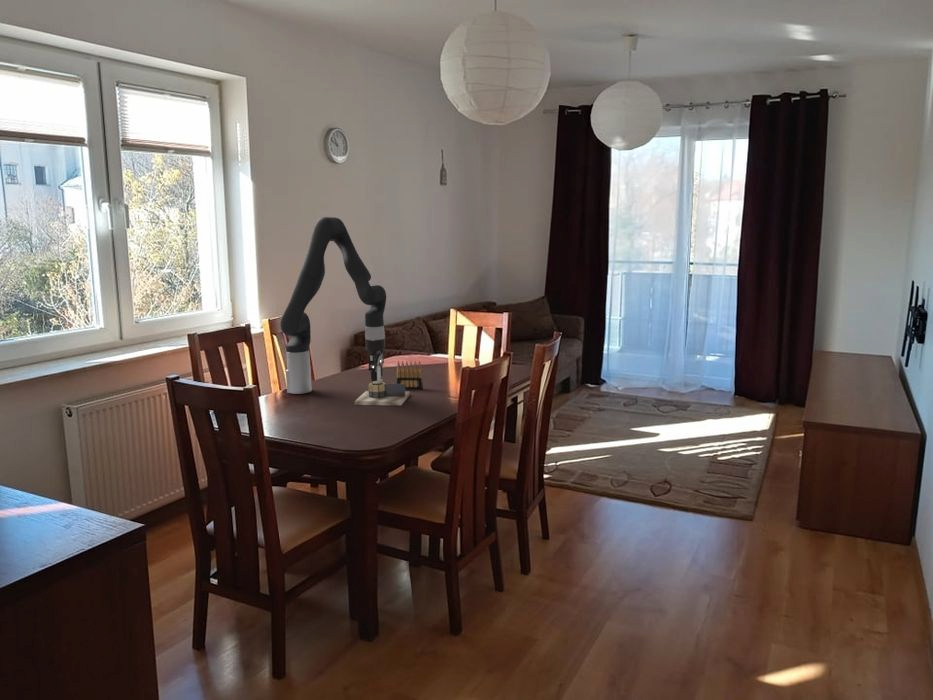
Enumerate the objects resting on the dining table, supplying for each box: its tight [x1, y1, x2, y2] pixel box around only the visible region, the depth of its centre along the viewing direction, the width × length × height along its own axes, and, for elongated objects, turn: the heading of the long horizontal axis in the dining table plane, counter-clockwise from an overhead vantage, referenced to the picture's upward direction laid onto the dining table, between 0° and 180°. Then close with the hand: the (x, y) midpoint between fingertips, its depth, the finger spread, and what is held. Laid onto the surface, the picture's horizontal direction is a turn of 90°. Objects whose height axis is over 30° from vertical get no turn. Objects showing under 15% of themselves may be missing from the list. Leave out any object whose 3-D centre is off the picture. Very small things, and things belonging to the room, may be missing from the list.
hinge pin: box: [372, 366, 382, 385], centre depth 286 cm, size 3×3×12 cm
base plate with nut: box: [354, 378, 411, 406], centre depth 286 cm, size 18×16×6 cm
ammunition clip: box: [396, 360, 424, 391], centre depth 302 cm, size 11×2×12 cm, turn 84°
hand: (377, 378), depth 286 cm, fingers open, 8 cm apart
